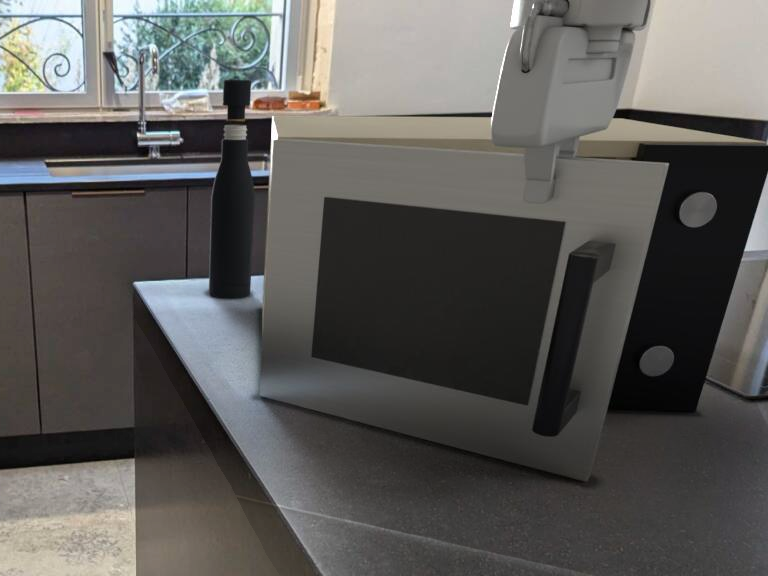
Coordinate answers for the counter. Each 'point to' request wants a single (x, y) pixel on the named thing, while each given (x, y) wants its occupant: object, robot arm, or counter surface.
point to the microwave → (667, 243)
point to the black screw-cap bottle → (232, 202)
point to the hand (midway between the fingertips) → (543, 199)
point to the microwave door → (454, 293)
